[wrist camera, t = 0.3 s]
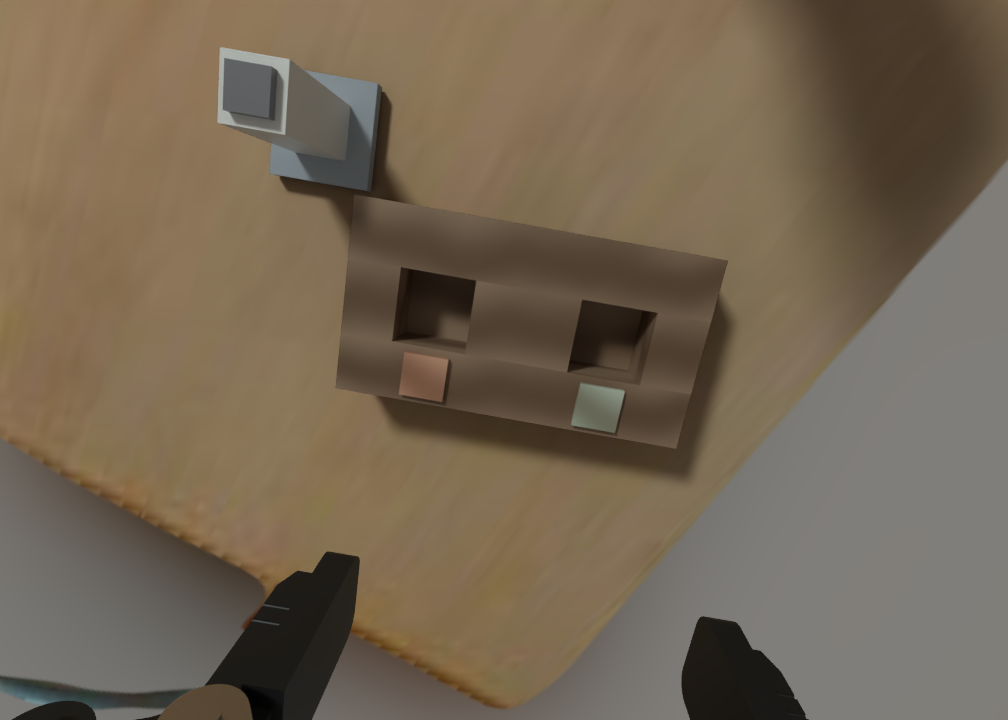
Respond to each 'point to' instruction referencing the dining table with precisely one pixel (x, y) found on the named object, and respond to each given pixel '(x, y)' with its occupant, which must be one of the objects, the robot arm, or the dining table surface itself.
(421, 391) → the socket block
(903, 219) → the dining table surface
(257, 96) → the plug
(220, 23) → the dining table surface
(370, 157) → the thin square blue plate
